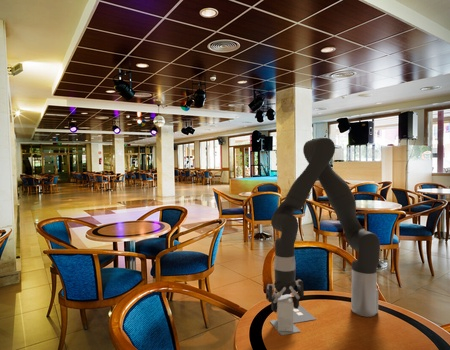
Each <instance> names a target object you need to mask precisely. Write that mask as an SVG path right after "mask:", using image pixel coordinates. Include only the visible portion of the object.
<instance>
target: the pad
mask: <svg viewBox="0 0 450 350" xmlns="http://www.w3.org/2000/svg"><path fill="white" fill-rule="evenodd" d="M269 322H270V323H271V325H272V326H273V327H274V328H275V330H276V331H277V332H278V334H280V336H285V335H291V334H296V333H301V330H300V329H299V328H298V327H297V326H296V325H295V323H294V324H293V332H290V331H278V322H277V319H273V320H269Z"/></svg>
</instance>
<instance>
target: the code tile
mask: <svg viewBox="0 0 450 350" xmlns="http://www.w3.org/2000/svg"><path fill="white" fill-rule="evenodd" d="M316 320H317V318H315V317H314V316H313V315H312V314H311V313H310V312H309V311H307V309H305V308H304V307H303V306H302V305H301V304H299V307H298V309H295V308H294V306H293V324H294V325H295V324H299V323H304V322H309V321H316Z"/></svg>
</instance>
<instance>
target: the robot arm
mask: <svg viewBox="0 0 450 350" xmlns="http://www.w3.org/2000/svg"><path fill="white" fill-rule="evenodd" d="M302 150H303V152H302V153H303V155H304V158H305V160H306V161H307V163H308V164H307V166H306V168H305V169H304V170H303V171H302V173H300V174H299V176H298V177H297V178H296V179H295V180H294V182H293V183H292V185H291V186H290V188H289V189H288V192H287V194H286V197H285V198H284V200H283V202H281V203H280V205H279V206H278V207H277V208H276V209H275V210H274V212H273V214H272V216H271V219H270V220H271V221H270V222H271V223H270V224H271V227H272V228H273V229H274V230H275V231H278V232H281V234H280V237H278V238H276V240H275V242H274V260H273V261H274V283H271V284H270V282H268V283H266V293H265V294H266V295H265V299H266V300H267V301H268V302H269V303H270V306H271V310H272V311H273V312H274V313H276V314H277V300H278V298H280V297H281V295H286V294H292V300H293V306H294V308H295V309H298V307H299V305H300V299H301V298H302V297H304V296H305V291H304V290H305V289H304V281H303V280H301V279H299V278H297V280H296V259H295V243H296V240H297V235H298V231H299V222H298V219H297V217H296V215H293V214H294V213H295V212H300V211H301V210H302V209H303V207H304V205H305V203H306V201H307V199H308V198H309V195H310V192H311V191H312V189H313V187H314V185H315V184H316V183H317V180H318V182H319V183H320V185H321V188H322V189H323V191H324V193H325V195H326V198H327V200H328V202H329V204H330V206H331V208H332V209H333V211H334V213H335V215H336V217H337V219H338V221H339V223H340V224H341V228H342V231H343V232H344V235H345V238H346V240H347V243H348V244H349V247H350V248H351V249H353V250H354V251H355V252H358V253H357V254H358V256H357V259H354V260H352V262H351V288H350V289H351V290H350V291H351V293H350V294H351V297H350V298H351V301H350V302H351V303H350V304H351V305H350V306H351V309H350V310H351V311H352V312H353V313H354V314H355V315H357V316H362V317H366V318H367V317H368V318H369V317H370V318H371V317H374V316H376V315H377V314H379V289H378V288H377V283H378V282H377V277H378V276H377V272H378V271H377V269H378V266H379V265H380V255H381V254H380V253H381V242H380V239H379V237H378V235H377V234H376V233H373V232H371V231H368V230H366V229H364V228H363V227H362V225H361V223H360V221H359V220H358V217H357V211H356V210H357V202H356V199H355V196H354V194H353V191H352V190H351V188H350V186H349V184H348V183H347V182H346V181H345V180H344V179H343V178H342V176H340V175H339V174H338V173H337V172H336V171H335V170H334V169H333V168H332V167H331V165H330V164H329V163H330V161H331V160H332V158H333V157H334V154H335V153H336V152H335V151H336V145H335V142H334V140H332V139H331V138H330V137H327V136H323V137H318V138H314V139H311V140H308V141H306V142H305V143H304V144H303V148H302ZM296 286H297V292H296V290H295V287H296Z"/></svg>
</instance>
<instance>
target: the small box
mask: <svg viewBox="0 0 450 350" xmlns="http://www.w3.org/2000/svg"><path fill="white" fill-rule="evenodd" d="M276 303H277V312H276V314H277V315H276V320H277V322H278V331H290V332H293V294H292V293H290V294H286V295H281V297H280V298H278V300H277V302H276ZM278 331H277V332H278Z"/></svg>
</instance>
